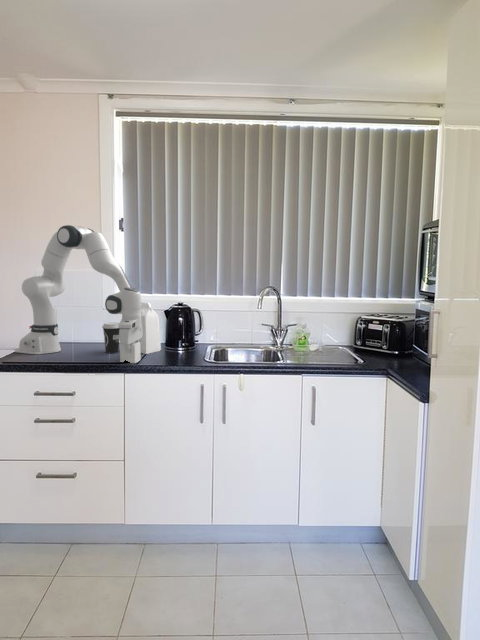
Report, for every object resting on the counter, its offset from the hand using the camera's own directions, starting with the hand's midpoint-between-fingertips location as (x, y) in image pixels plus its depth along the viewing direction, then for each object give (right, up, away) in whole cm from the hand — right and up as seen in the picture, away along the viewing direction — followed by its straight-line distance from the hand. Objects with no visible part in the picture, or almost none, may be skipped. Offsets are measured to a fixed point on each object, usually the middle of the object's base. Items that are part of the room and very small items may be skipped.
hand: (132, 351), depth 218 cm
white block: (-1, -5, +1) cm, 5 cm away
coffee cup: (-16, -2, +23) cm, 28 cm away
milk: (+1, -2, +27) cm, 27 cm away
